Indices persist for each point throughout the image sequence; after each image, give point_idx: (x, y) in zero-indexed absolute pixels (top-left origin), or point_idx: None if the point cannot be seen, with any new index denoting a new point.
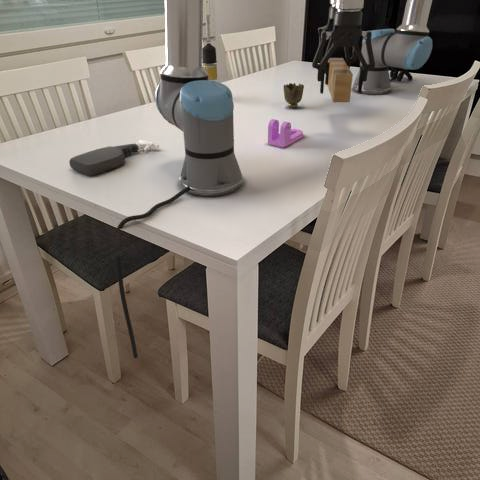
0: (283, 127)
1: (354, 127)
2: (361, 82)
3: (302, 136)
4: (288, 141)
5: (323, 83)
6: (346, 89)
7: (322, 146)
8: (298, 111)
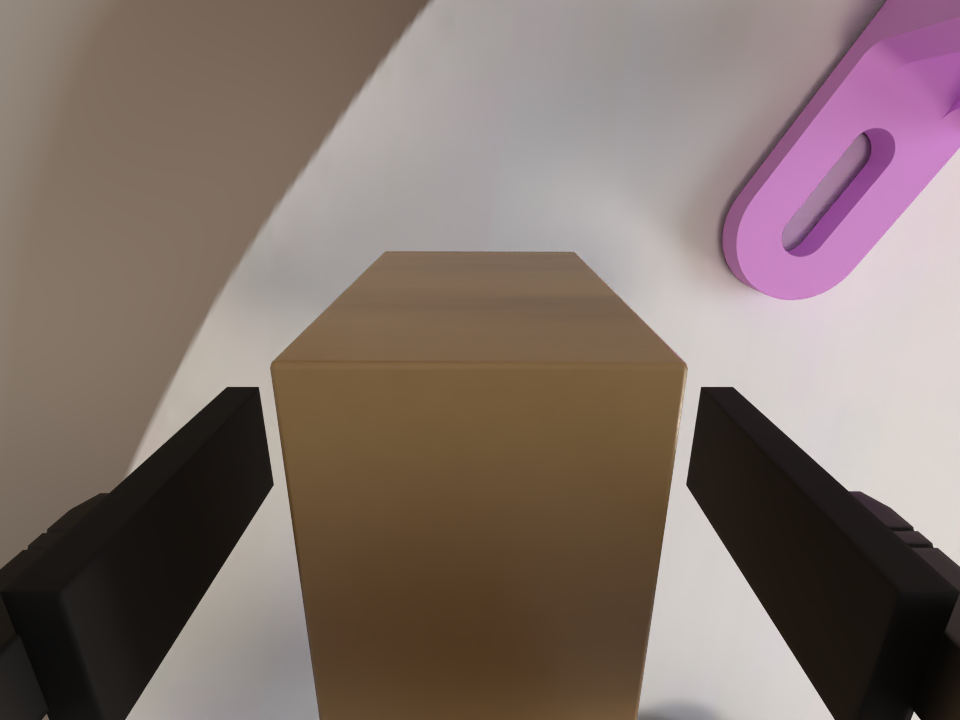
0: None
1: None
2: (170, 458)
3: (730, 212)
4: (892, 13)
5: (767, 449)
6: (421, 285)
7: (611, 19)
8: (659, 688)
